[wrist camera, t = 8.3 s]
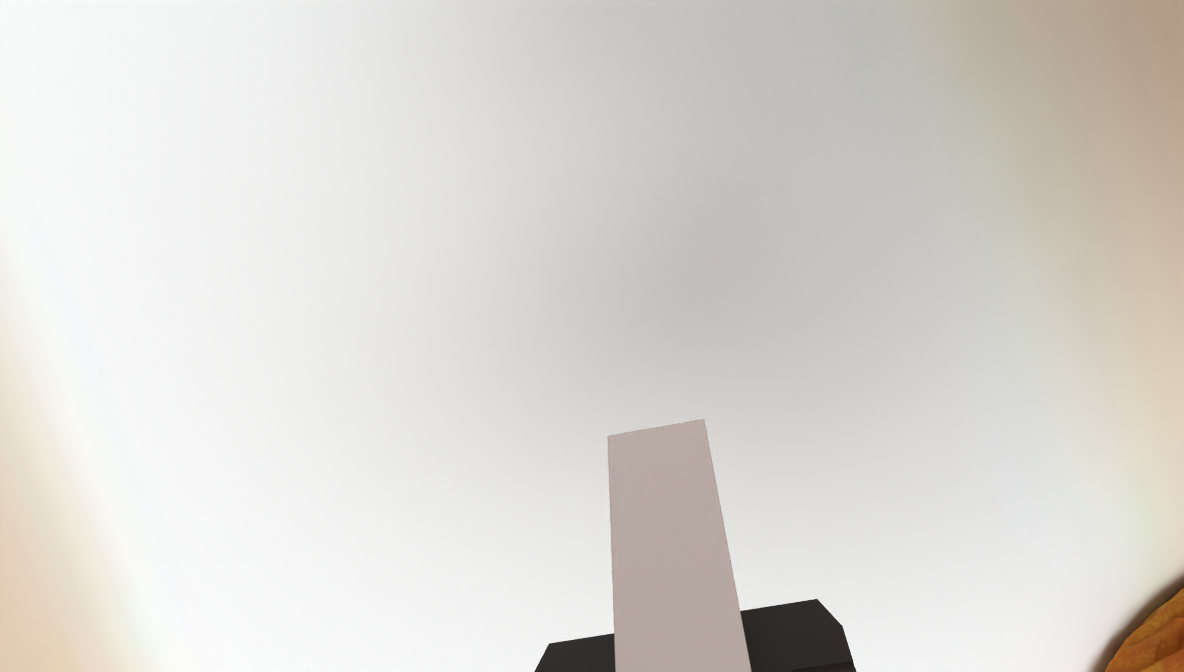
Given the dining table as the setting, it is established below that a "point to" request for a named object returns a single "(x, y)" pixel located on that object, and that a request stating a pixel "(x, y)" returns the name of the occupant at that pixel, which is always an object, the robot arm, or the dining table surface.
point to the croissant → (1155, 642)
